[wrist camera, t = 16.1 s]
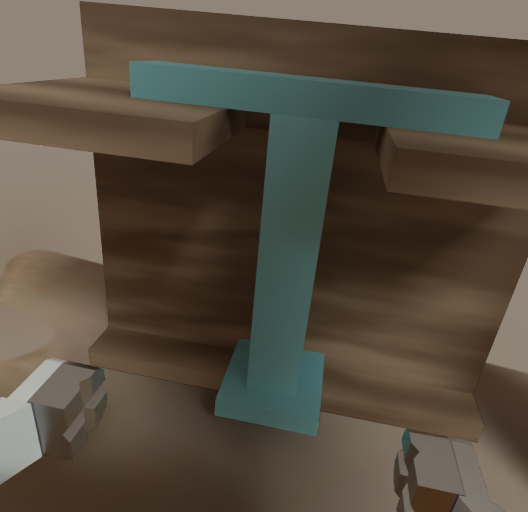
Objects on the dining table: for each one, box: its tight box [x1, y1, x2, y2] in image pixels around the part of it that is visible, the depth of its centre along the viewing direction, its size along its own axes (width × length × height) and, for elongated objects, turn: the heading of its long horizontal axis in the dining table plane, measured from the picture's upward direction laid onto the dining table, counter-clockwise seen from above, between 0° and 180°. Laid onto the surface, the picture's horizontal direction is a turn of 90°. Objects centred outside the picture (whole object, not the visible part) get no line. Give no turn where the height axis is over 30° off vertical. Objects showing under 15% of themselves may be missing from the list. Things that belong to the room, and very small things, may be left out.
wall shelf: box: [0, 1, 528, 442], centre depth 23 cm, size 12×28×24 cm, turn 80°
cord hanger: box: [129, 61, 510, 436], centre depth 23 cm, size 6×16×18 cm, turn 80°
